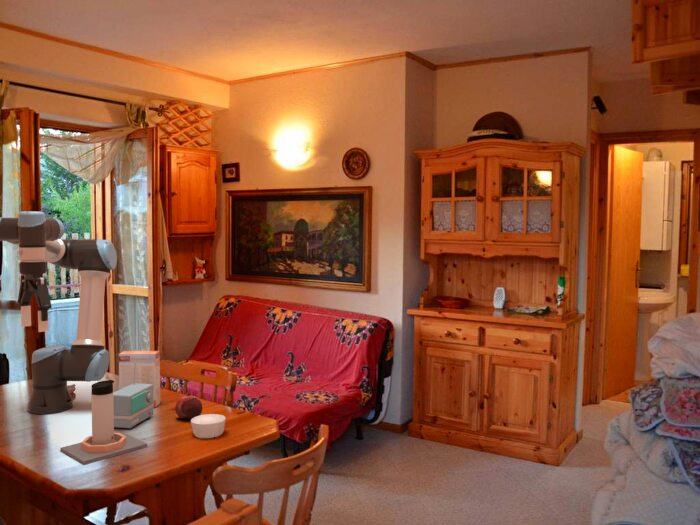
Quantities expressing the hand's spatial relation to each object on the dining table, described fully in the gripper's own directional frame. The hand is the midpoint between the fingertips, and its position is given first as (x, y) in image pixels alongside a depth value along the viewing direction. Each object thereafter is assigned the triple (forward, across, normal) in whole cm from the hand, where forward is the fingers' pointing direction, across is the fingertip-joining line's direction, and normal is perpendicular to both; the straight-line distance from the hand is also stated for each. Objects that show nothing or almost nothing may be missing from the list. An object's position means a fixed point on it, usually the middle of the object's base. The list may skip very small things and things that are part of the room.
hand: (34, 328), depth 194 cm
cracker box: (+37, -14, +43) cm, 58 cm away
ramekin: (+37, +32, +42) cm, 64 cm away
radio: (+37, +3, +31) cm, 48 cm away
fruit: (+37, +13, +47) cm, 61 cm away
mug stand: (+36, +20, +12) cm, 43 cm away
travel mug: (+36, +20, +12) cm, 43 cm away
